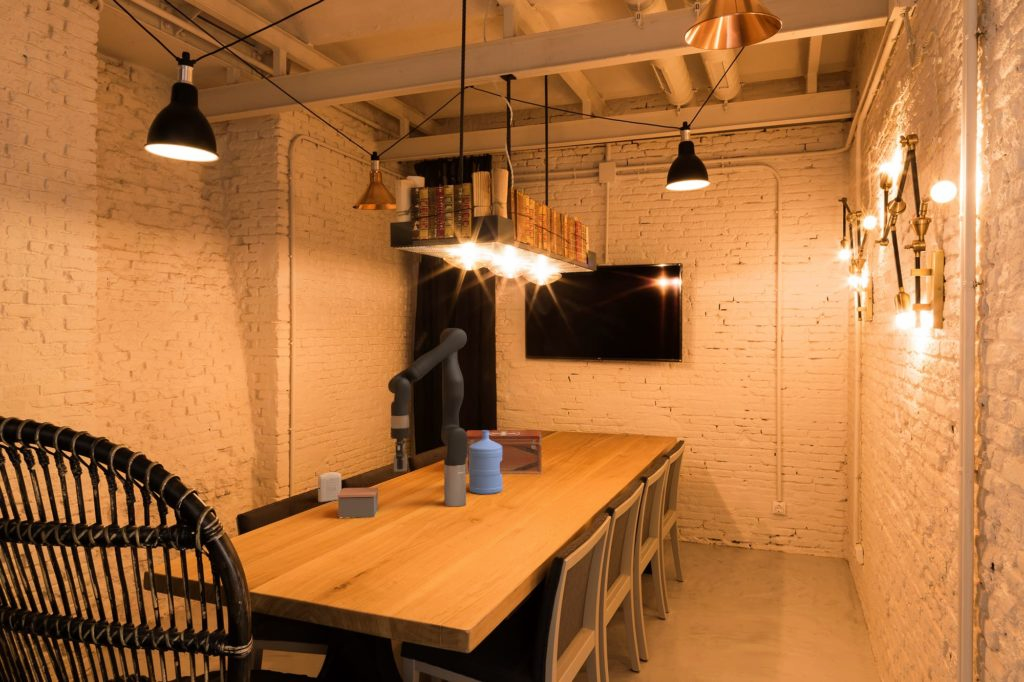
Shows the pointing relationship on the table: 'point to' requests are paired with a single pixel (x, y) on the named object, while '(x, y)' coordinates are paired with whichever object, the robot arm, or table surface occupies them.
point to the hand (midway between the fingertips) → (400, 467)
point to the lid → (358, 492)
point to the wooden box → (513, 450)
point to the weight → (403, 463)
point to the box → (357, 506)
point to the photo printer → (329, 486)
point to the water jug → (485, 466)
